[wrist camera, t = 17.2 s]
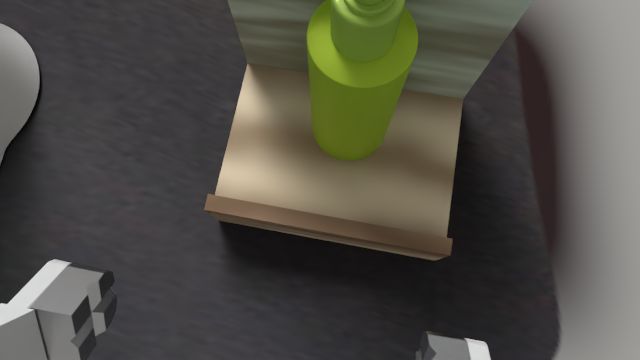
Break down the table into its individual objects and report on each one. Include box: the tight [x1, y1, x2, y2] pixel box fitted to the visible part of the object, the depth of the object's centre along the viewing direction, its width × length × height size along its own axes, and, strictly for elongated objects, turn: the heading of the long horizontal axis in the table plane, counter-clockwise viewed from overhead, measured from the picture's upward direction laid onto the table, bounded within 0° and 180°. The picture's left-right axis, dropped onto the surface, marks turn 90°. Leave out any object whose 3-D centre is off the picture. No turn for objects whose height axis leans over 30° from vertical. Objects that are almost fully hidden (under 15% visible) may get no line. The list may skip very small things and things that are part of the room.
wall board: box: [204, 0, 533, 261], centre depth 29 cm, size 15×18×22 cm
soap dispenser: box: [307, 0, 418, 161], centre depth 27 cm, size 6×7×20 cm
